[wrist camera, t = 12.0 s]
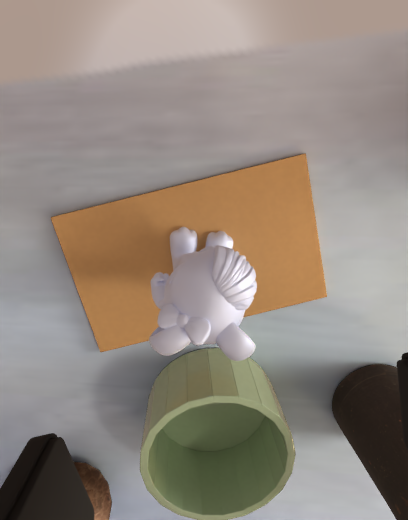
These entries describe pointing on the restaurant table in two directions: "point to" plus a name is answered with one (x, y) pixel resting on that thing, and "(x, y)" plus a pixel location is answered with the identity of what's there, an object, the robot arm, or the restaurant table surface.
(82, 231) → the mat
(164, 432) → the green bowl
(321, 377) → the restaurant table surface
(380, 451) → the container
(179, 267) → the toy figurine
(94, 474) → the mushroom
